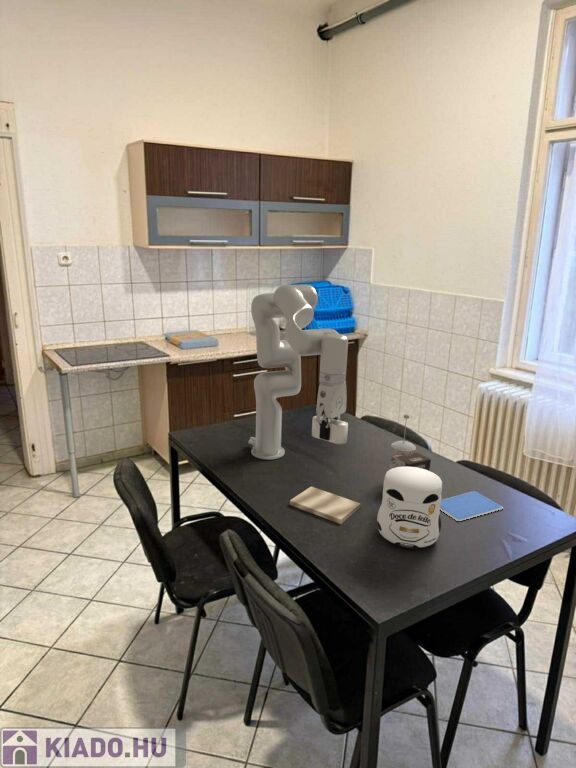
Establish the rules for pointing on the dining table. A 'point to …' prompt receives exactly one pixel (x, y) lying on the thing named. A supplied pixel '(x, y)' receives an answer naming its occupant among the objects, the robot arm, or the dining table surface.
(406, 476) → the doce de leite jar
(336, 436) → the rounded block
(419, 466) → the coffee box
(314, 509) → the birch board
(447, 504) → the blue flat pad
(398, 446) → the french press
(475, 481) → the dining table surface
